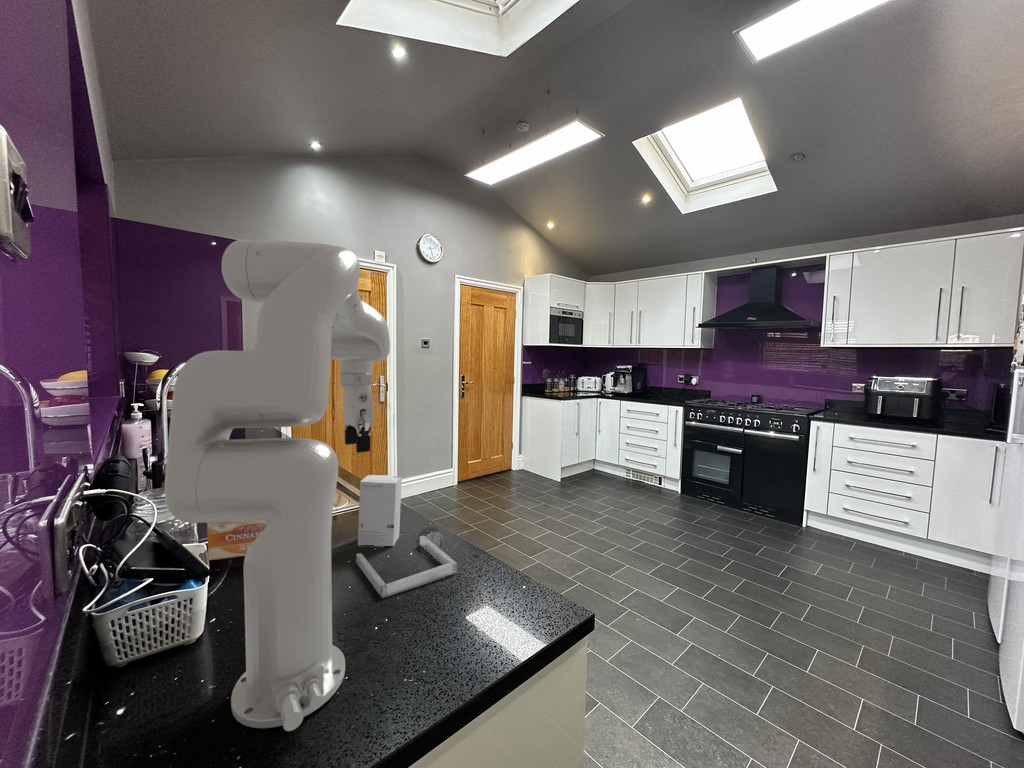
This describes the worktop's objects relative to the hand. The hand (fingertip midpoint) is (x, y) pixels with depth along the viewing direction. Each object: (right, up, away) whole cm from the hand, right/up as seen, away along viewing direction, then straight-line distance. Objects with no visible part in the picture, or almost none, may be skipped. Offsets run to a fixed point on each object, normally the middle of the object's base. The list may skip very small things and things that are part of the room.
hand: (357, 447), depth 101 cm
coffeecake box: (-16, -20, -15) cm, 30 cm away
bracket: (+18, -21, -21) cm, 34 cm away
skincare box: (+9, -20, -9) cm, 24 cm away
